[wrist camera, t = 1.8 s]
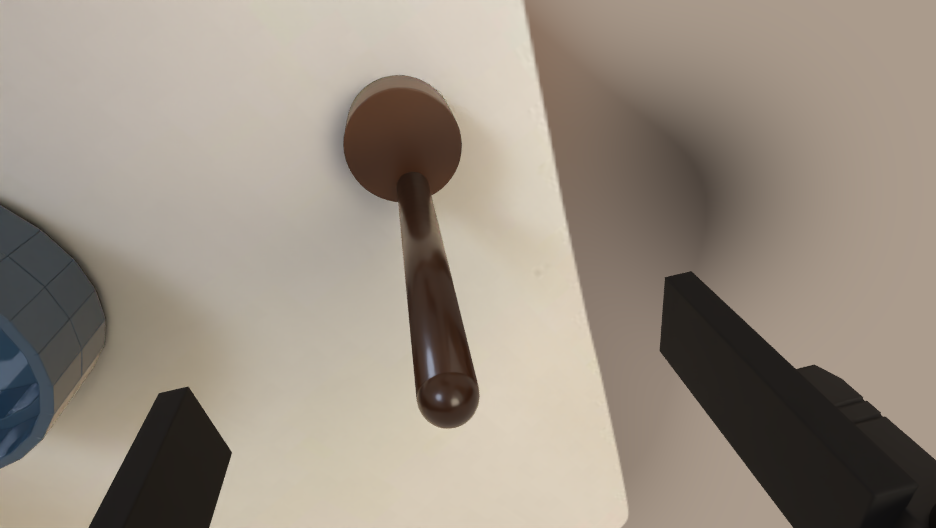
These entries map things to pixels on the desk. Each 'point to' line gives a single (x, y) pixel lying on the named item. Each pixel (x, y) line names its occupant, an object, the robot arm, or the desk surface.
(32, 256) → the mixing bowl
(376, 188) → the ladle
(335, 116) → the desk surface
